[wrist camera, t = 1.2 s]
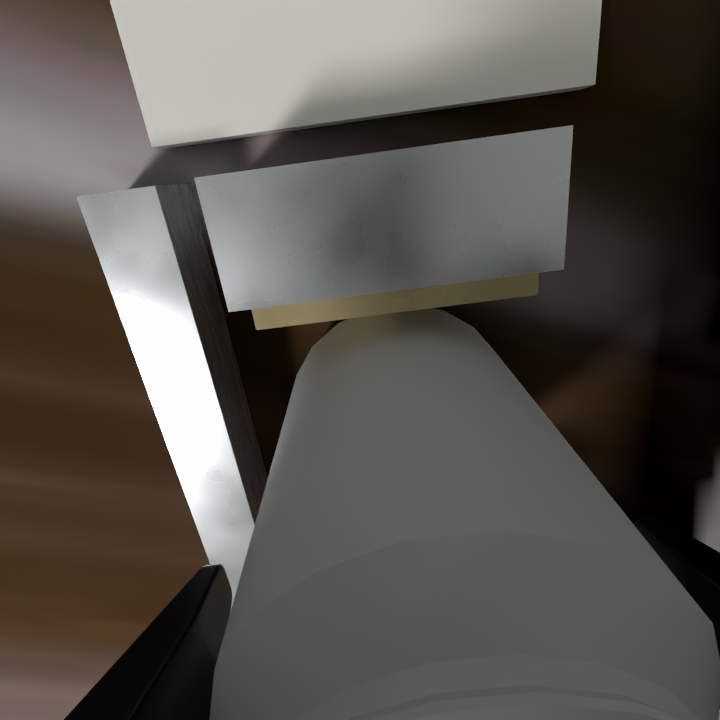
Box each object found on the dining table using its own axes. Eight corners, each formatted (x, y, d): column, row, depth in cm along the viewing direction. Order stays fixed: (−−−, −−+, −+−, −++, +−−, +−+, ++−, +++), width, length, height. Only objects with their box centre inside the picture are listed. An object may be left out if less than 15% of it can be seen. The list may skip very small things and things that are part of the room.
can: (265, 330, 15) (10, 785, 4) (480, 269, 14) (941, 614, 3) (330, 495, 18) (293, 1027, 7) (511, 452, 17) (805, 966, 6)
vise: (504, 544, 19) (540, 634, 15) (247, 571, 19) (222, 665, 16) (508, 139, 13) (573, 124, 9) (125, 192, 13) (34, 199, 9)
